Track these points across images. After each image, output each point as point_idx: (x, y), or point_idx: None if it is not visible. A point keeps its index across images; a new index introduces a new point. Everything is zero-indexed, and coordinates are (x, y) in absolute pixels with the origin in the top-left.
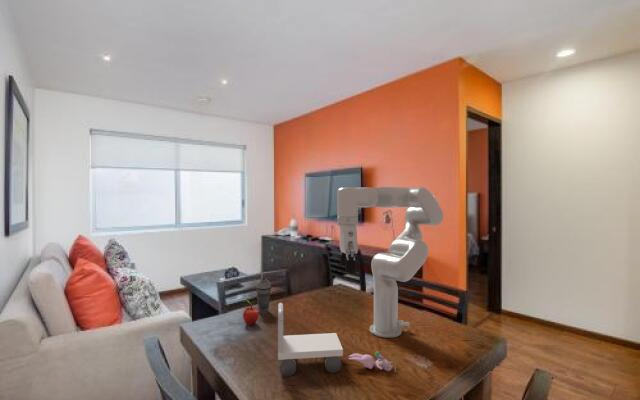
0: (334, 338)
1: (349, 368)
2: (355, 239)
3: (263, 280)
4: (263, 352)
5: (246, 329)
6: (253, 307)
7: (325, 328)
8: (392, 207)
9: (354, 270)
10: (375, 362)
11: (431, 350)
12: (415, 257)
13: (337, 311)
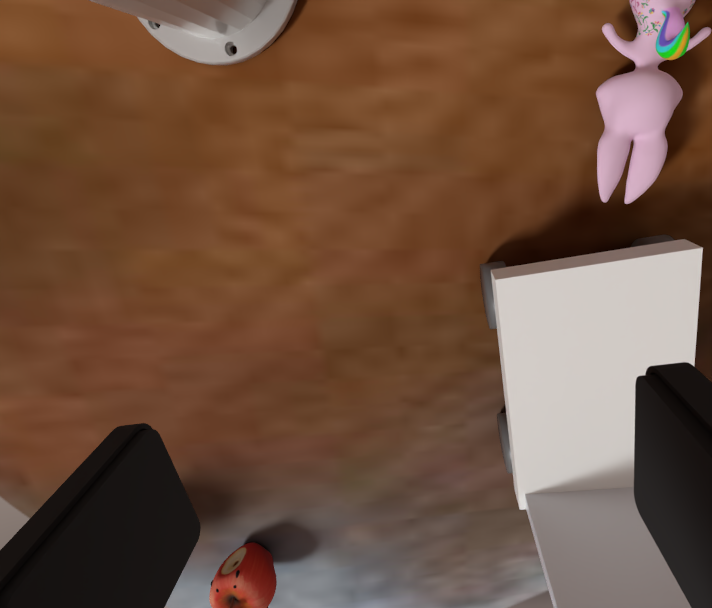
0: (564, 288)
1: (621, 192)
2: None
3: None
4: (472, 492)
5: (301, 556)
6: (215, 600)
7: (239, 297)
8: None
9: (694, 375)
10: (655, 61)
11: None
12: None
13: (19, 242)
